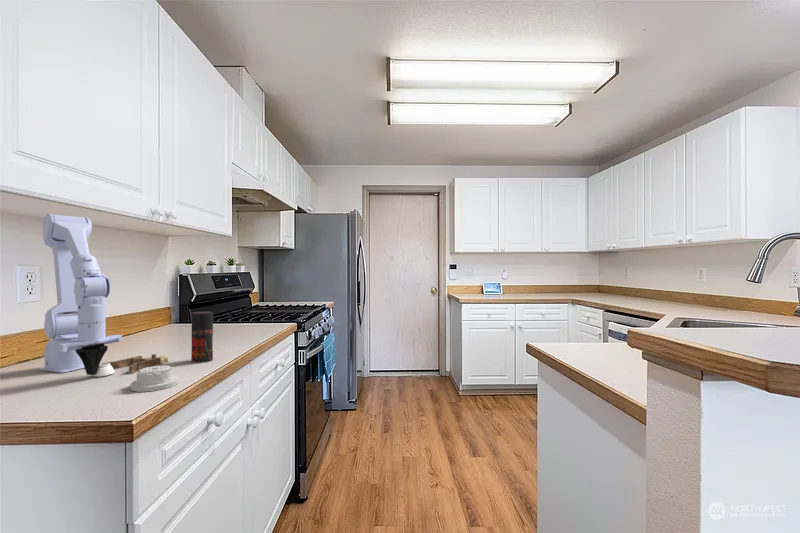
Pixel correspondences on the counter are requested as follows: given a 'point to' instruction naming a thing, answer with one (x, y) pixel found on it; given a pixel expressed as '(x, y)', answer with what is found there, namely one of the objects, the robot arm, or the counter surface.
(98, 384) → the counter surface
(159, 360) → the gear station
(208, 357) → the deodorant
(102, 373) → the white jar
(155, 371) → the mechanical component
